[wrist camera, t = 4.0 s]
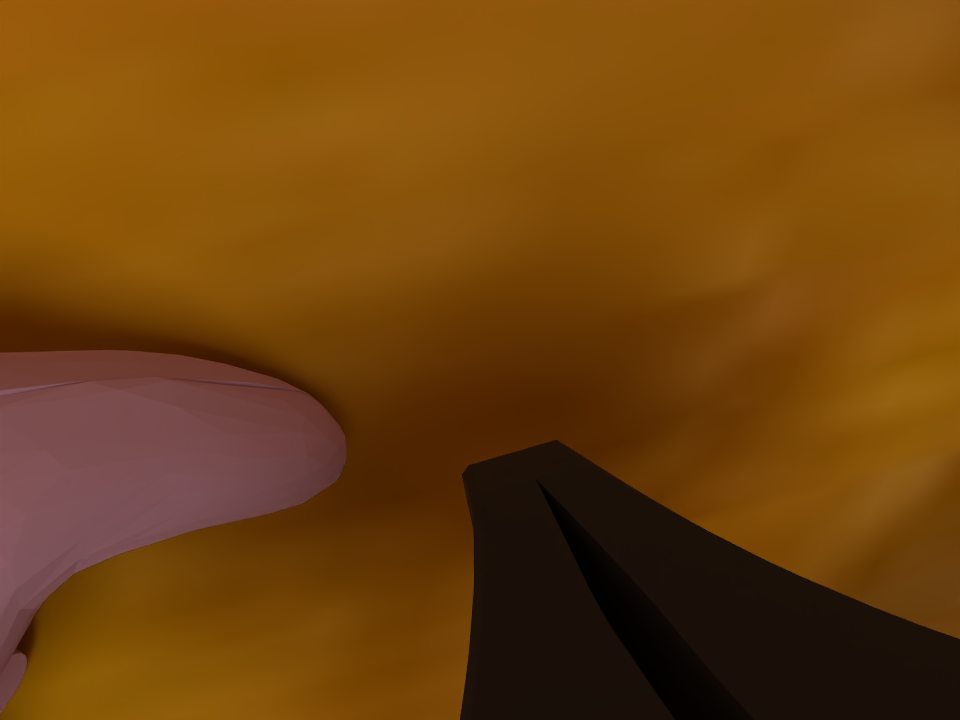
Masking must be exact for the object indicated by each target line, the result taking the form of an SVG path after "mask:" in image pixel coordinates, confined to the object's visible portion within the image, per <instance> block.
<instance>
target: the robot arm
mask: <svg viewBox="0 0 960 720" xmlns="http://www.w3.org/2000/svg"><path fill="white" fill-rule="evenodd" d="M462 478H463V483H464V488H465V492H466V497H467V502H468V506H469V511H470V515H471V520H472V525H473V531H474V595H473V608H472V620H471V633H470V646H469V656H468V665H467V673H466V681H465V689H464V696H463V703H462V709H461V716H460V720H960V639H958V638H955V637H952V636H949V635H946V634H943V633H941V632H938V631H935V630H932V629H929V628H926V627H924V626H921V625H918V624H916V623H913V622H910V621H908V620H905V619H903V618H900V617H897V616H895V615H892V614H890V613H887V612H884V611H882V610H879V609H877V608H874V607H872V606H869V605H867V604H865V603H862V602H860V601H857V600H855V599H853V598H850V597H848V596H846V595H843V594H841V593H839V592H836V591H834V590H831V589H829V588H827V587H824V586H822V585H820V584H817V583H815V582H813V581H810V580H808V579H805V578H803V577H801V576H799V575H796V574H794V573H792V572H790V571H788V570H786V569H783V568H781V567H779V566H777V565H775V564H773V563H770V562H768V561H766V560H764V559H762V558H760V557H758V556H756V555H754V554H752V553H750V552H748V551H746V550H744V549H742V548H740V547H738V546H736V545H734V544H732V543H730V542H728V541H726V540H724V539H723V538H721V537H719V536H717V535H715V534H713V533H711V532H709V531H707V530H705V529H703V528H702V527H700V526H698V525H696V524H694V523H692V522H690V521H689V520H687V519H685V518H683V517H682V516H680V515H678V514H677V513H675V512H673V511H671V510H670V509H668V508H666V507H664V506H663V505H661V504H659V503H657V502H656V501H654V500H652V499H650V498H649V497H647V496H645V495H644V494H642V493H640V492H639V491H637V490H636V489H634V488H632V487H631V486H629V485H627V484H626V483H624V482H623V481H621V480H619V479H618V478H616V477H615V476H613V475H611V474H610V473H608V472H607V471H605V470H603V469H602V468H600V467H599V466H597V465H596V464H594V463H592V462H591V461H589V460H588V459H586V458H585V457H583V456H581V455H580V454H578V453H577V452H575V451H573V450H572V449H570V448H569V447H567V446H565V445H564V444H562V443H561V442H559V441H557V440H555V441H552V442H548V443H545V444H541V445H538V446H534V447H531V448H527V449H524V450H520V451H517V452H513V453H510V454H506V455H503V456H500V457H496V458H493V459H489V460H486V461H482V462H479V463H475V464H472V465H469V466H468V467H467V469H466V470H465V471H464V473H463V474H462Z"/></svg>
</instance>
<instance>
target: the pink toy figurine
mask: <svg viewBox="0 0 960 720" xmlns="http://www.w3.org/2000/svg"><path fill="white" fill-rule="evenodd" d="M346 459H347V455H346V437H345V435H344V433H343V431H342V429H341V427H340V425H339V424H338V423H337V422H336V421H335V420H334V418H333V417H332V416H331V415H330V414H329V412H328V411H327V410H326V409H325V408H324V407H323V406H322V405H321V404H320V403H319V402H318V401H316V400H315V398H314V397H313V396H312V395H311V394H309V393H307V392H304V391H302V390H300V389H298V388H296V387H294V386H292V385H290V384H288V383H286V382H283V381H281V380H279V379H277V378H273V377H270V376H267V375H263V374H260V373H256V372H253V371H249V370H246V369H242V368H239V367H235V366H232V365H228V364H224V363H219V362H214V361H209V360H204V359H199V358H194V357H189V356H184V355H177V354H165V353H154V352H142V351H130V350H78V351H39V352H0V713H1V712H2V711H3V709H4V708H5V706H6V705H7V703H8V702H9V700H10V699H11V697H12V696H13V694H14V693H15V691H16V690H17V688H18V687H19V684H20V682H21V680H22V677H23V675H24V673H25V670H26V668H27V659H26V655H24V654H23V653H21V652H20V651H18V650H17V649H16V647H17V646H18V644H19V642H20V640H21V638H22V637H23V635H24V633H25V631H26V630H27V628H28V626H29V624H30V623H31V621H32V619H33V617H34V615H35V614H36V612H37V610H38V609H39V608H40V607H41V605H42V604H43V603H44V601H45V600H46V599H47V597H48V596H49V595H50V594H51V593H52V592H54V591H55V590H56V589H57V588H58V587H59V586H60V585H62V584H63V583H64V582H65V581H66V580H67V579H69V578H70V577H71V576H72V575H73V574H74V573H77V572H79V571H81V570H84V569H86V568H88V567H90V566H93V565H95V564H97V563H100V562H102V561H104V560H106V559H109V558H111V557H113V556H116V555H118V554H122V553H125V552H128V551H131V550H134V549H137V548H141V547H144V546H147V545H150V544H153V543H156V542H159V541H163V540H166V539H169V538H172V537H175V536H178V535H181V534H185V533H188V532H191V531H194V530H198V529H203V528H207V527H212V526H216V525H221V524H225V523H230V522H234V521H239V520H243V519H248V518H252V517H257V516H261V515H266V514H270V513H273V512H277V511H280V510H283V509H287V508H290V507H294V506H297V505H300V504H303V503H304V502H306V501H307V500H309V499H310V498H312V497H313V496H315V495H316V494H318V493H319V492H321V491H322V490H324V489H325V488H327V487H328V486H330V485H331V484H333V483H334V482H336V481H337V480H338V478H339V476H340V475H341V473H342V470H343V468H344V465H345V462H346Z"/></svg>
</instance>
